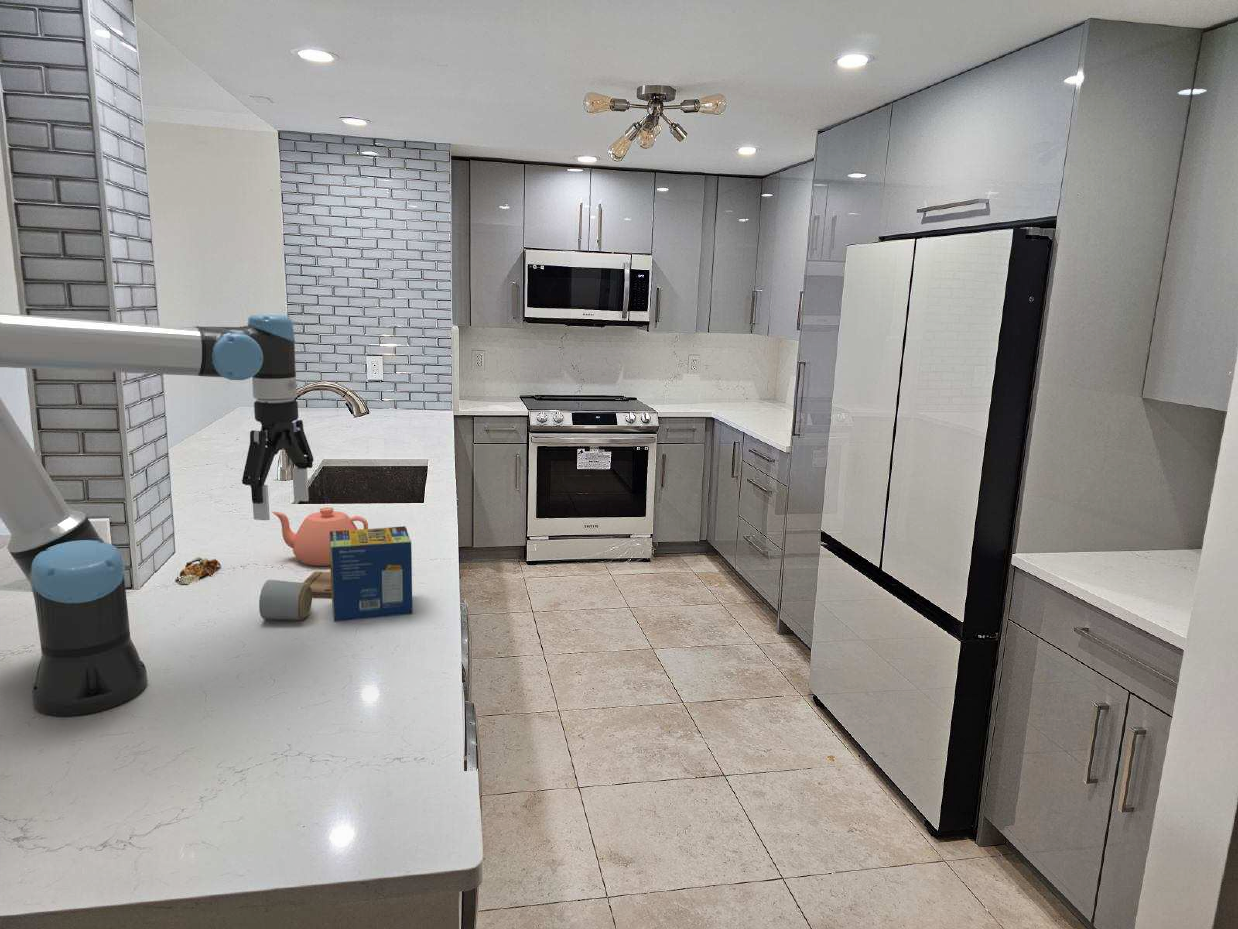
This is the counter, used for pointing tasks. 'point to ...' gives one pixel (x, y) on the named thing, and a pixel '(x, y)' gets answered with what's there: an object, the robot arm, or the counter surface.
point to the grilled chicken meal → (197, 570)
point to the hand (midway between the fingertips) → (282, 509)
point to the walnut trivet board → (320, 584)
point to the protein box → (370, 573)
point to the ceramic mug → (285, 600)
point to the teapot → (316, 534)
